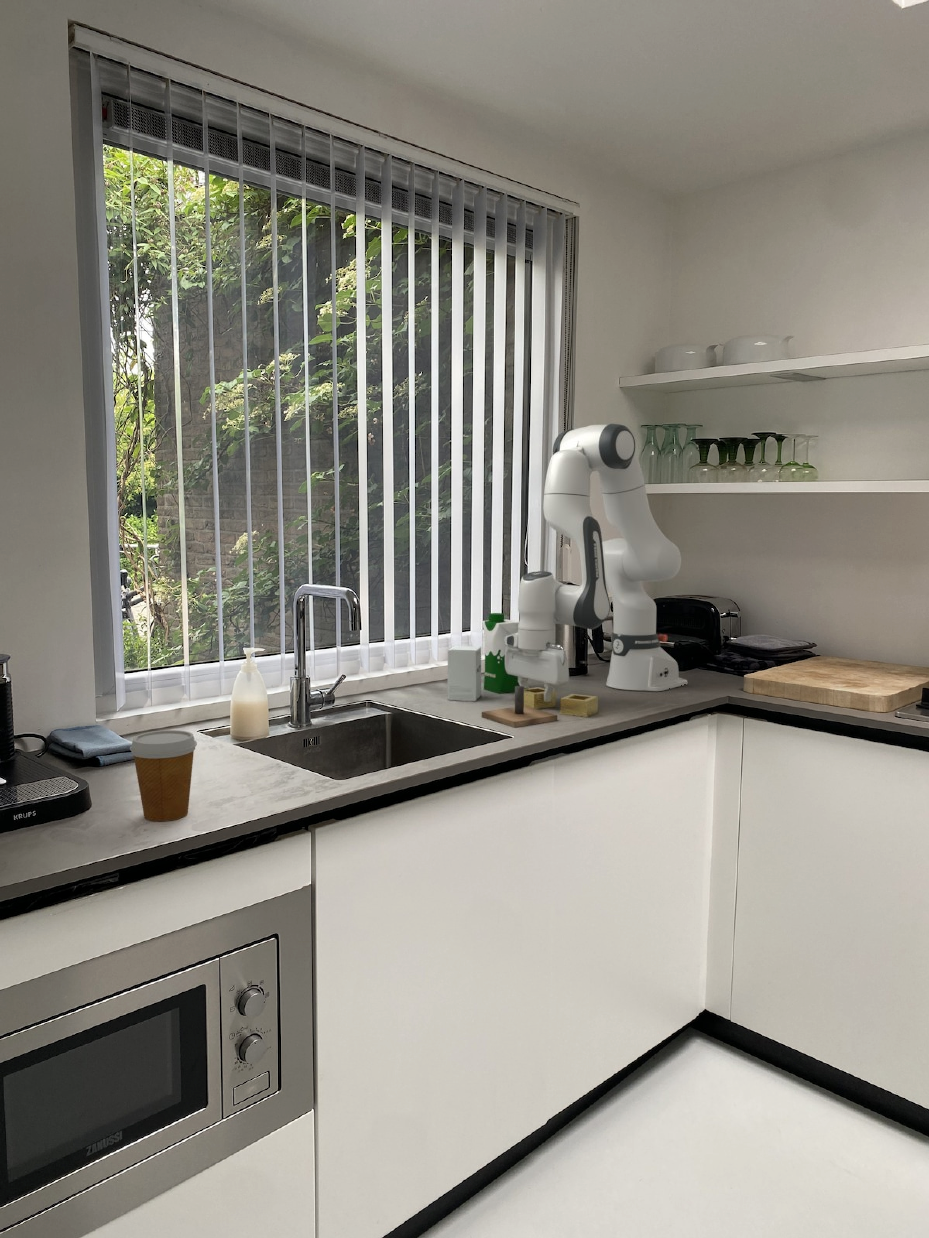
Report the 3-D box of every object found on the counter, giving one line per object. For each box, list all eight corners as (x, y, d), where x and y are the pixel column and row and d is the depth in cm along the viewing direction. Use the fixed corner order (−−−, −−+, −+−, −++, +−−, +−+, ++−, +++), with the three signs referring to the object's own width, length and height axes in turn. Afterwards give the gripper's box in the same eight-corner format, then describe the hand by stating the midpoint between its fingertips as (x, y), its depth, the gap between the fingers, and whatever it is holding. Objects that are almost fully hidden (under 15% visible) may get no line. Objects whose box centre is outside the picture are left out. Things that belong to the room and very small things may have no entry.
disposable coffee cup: (158, 802, 142) (155, 727, 141) (211, 808, 140) (209, 731, 138) (118, 821, 133) (115, 742, 132) (174, 828, 130) (171, 746, 129)
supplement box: (476, 701, 220) (476, 650, 219) (446, 700, 222) (446, 649, 220) (481, 695, 227) (482, 645, 226) (453, 694, 229) (453, 645, 227)
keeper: (523, 710, 210) (524, 680, 209) (557, 720, 200) (557, 688, 199) (481, 717, 203) (481, 685, 202) (514, 727, 193) (514, 694, 192)
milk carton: (478, 689, 236) (478, 612, 234) (506, 685, 241) (506, 610, 239) (498, 694, 229) (499, 616, 226) (526, 690, 234) (527, 613, 231)
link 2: (572, 708, 212) (572, 693, 211) (597, 711, 208) (597, 696, 208) (560, 714, 206) (560, 698, 206) (586, 717, 203) (586, 701, 203)
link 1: (538, 701, 220) (538, 687, 220) (555, 706, 215) (555, 691, 214) (517, 704, 216) (517, 689, 216) (533, 709, 211) (534, 694, 211)
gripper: (575, 644, 207) (574, 704, 209) (520, 635, 224) (520, 690, 225) (554, 646, 203) (553, 707, 205) (500, 636, 220) (500, 692, 222)
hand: (535, 698), depth 215 cm, fingers closed on link 1, 6 cm apart
